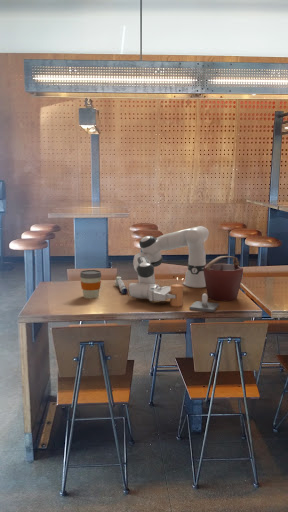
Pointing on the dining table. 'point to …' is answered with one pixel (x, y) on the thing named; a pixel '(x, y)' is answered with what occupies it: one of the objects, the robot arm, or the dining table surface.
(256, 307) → the dining table surface
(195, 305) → the post base
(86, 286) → the reusable coffee cup
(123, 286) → the white blue cylinder
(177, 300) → the tan upright cylinder
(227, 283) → the bucket
